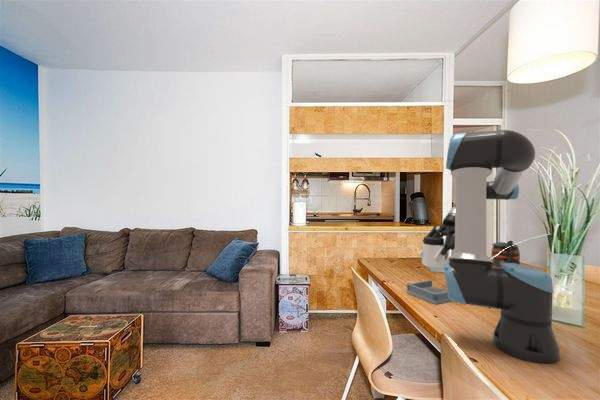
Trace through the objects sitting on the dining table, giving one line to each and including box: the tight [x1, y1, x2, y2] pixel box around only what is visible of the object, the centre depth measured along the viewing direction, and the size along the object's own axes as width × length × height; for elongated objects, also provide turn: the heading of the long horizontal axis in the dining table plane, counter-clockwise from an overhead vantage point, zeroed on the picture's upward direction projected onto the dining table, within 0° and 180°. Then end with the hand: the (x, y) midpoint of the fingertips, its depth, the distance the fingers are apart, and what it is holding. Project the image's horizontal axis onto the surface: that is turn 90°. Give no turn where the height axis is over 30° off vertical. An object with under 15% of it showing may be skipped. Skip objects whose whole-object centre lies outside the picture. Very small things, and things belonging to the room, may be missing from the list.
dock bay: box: [406, 280, 452, 305], centre depth 130 cm, size 15×14×4 cm
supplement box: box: [428, 240, 450, 274], centre depth 173 cm, size 10×9×17 cm
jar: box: [421, 236, 445, 268], centre depth 132 cm, size 9×8×12 cm
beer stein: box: [490, 240, 521, 268], centre depth 162 cm, size 19×15×20 cm
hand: (428, 258), depth 130 cm, fingers closed on jar, 8 cm apart
